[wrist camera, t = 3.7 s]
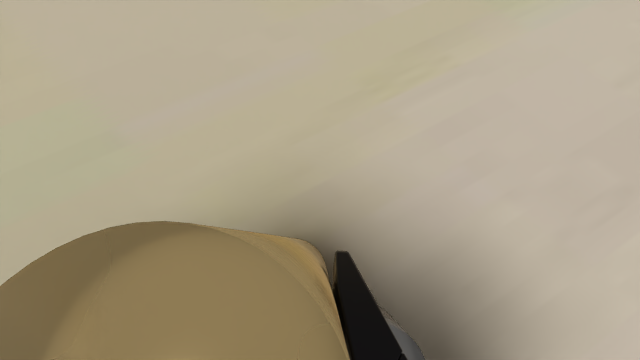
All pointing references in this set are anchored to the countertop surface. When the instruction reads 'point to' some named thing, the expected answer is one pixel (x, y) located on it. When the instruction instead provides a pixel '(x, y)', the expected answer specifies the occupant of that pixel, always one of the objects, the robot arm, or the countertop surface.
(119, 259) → the cylinder
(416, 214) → the countertop surface
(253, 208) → the countertop surface
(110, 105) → the countertop surface
